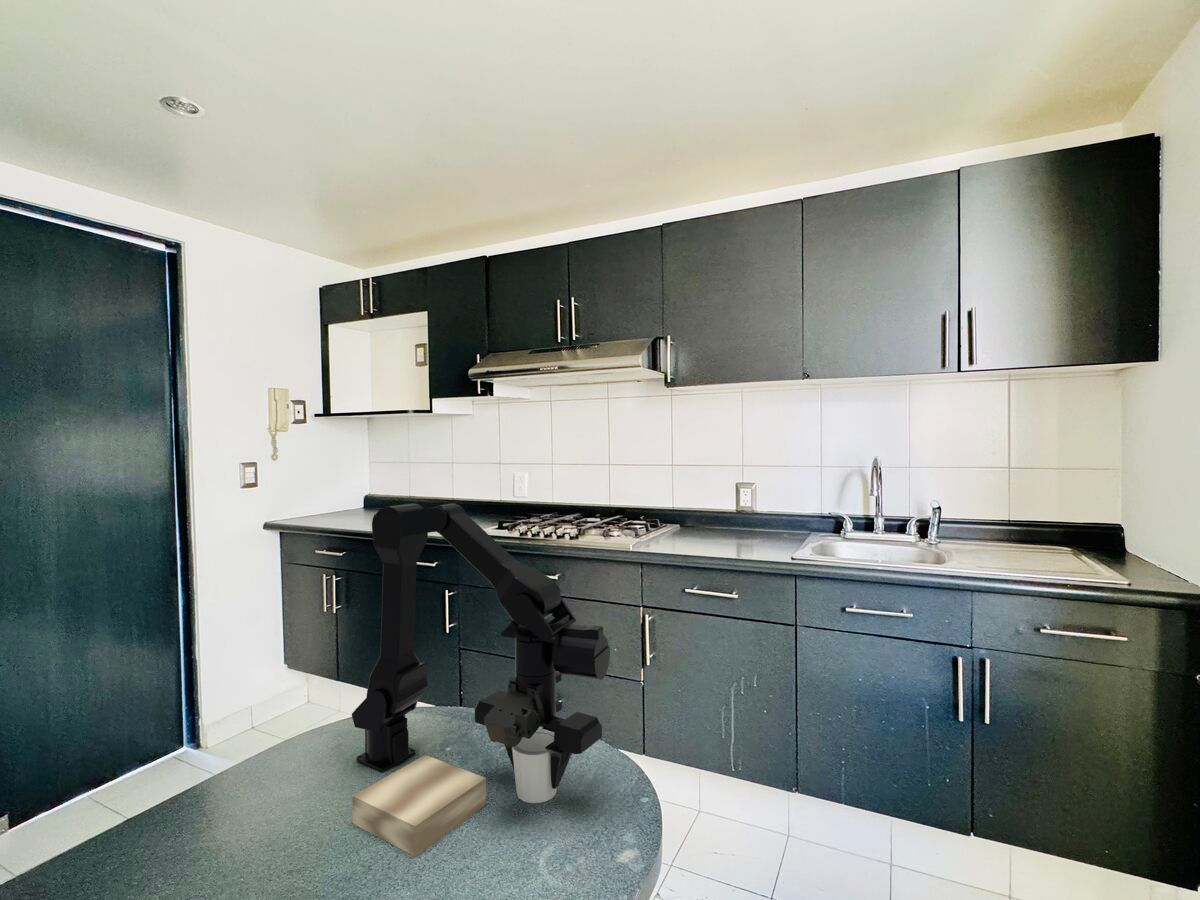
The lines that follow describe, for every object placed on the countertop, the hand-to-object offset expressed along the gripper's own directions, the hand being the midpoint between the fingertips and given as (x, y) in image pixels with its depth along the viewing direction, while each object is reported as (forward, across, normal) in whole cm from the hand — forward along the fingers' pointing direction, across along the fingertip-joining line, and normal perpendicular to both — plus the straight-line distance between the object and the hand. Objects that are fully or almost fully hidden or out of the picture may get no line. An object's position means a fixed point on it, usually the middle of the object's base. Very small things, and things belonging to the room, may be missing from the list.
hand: (536, 780), depth 83 cm
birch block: (+2, -10, -12) cm, 16 cm away
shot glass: (+2, 0, 0) cm, 2 cm away
